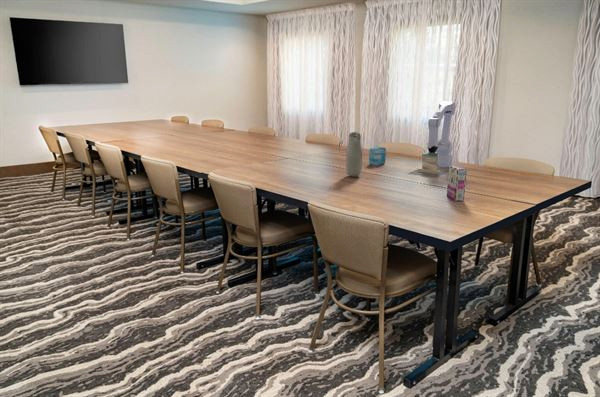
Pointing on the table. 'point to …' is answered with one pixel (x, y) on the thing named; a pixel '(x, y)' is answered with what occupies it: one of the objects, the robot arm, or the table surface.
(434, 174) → the rubber mat
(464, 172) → the candy bar box
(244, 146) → the table surface
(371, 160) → the data package
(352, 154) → the glass bottle
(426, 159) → the ash slab
